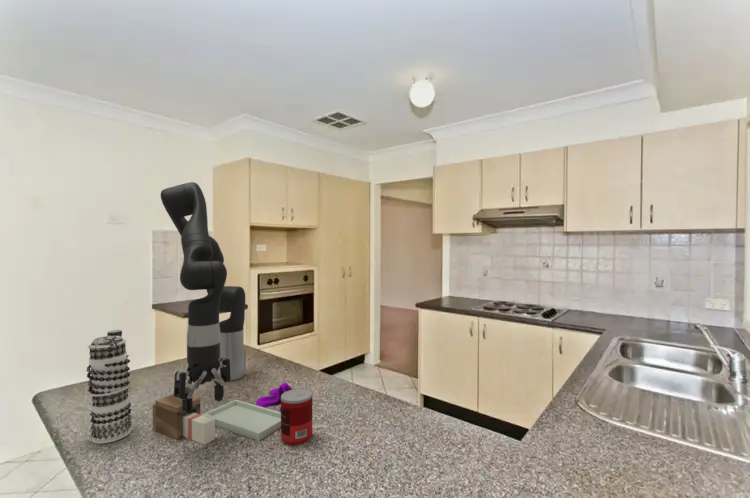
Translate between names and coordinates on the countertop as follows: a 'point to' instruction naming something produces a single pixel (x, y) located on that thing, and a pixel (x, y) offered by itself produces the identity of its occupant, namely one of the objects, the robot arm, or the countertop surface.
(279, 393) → the cloth
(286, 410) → the canned food
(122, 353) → the decorative candle
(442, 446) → the countertop surface
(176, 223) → the robot arm
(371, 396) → the countertop surface
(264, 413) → the tray
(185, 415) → the pink-banded white block
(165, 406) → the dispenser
